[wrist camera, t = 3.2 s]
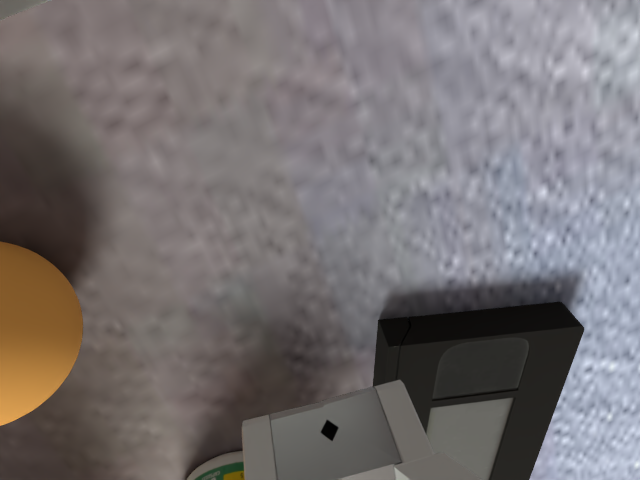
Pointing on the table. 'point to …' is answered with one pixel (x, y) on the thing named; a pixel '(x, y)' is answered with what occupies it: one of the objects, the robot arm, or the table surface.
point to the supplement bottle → (221, 468)
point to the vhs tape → (482, 380)
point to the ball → (34, 330)
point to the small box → (17, 6)
